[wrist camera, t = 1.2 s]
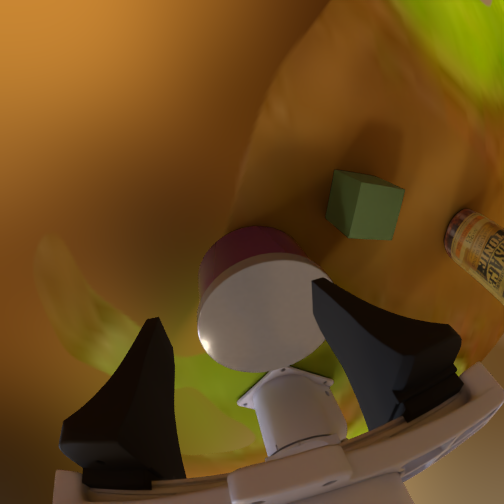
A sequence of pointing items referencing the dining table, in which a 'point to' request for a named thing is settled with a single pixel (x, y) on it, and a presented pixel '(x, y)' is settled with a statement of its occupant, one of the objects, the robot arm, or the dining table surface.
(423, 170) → the dining table surface
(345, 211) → the block
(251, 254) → the jar
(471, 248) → the sauce bottle
